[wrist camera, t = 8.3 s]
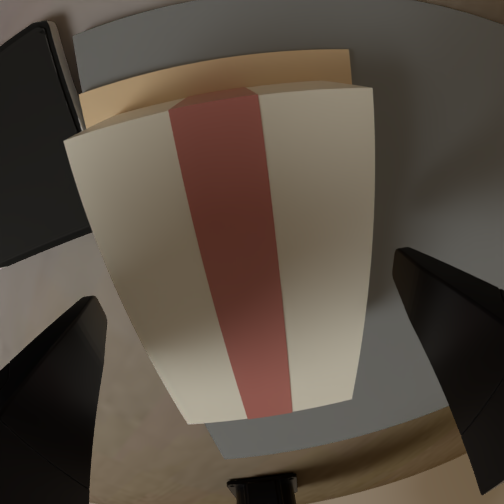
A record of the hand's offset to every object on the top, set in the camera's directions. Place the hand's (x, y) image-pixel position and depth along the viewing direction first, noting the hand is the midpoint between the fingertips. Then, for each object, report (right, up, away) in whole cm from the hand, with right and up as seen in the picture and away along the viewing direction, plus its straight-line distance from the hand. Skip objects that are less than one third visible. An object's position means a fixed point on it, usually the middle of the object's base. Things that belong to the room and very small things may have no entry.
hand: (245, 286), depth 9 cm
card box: (0, +1, +2) cm, 2 cm away
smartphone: (-13, +4, +1) cm, 13 cm away
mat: (+6, -2, +5) cm, 8 cm away
